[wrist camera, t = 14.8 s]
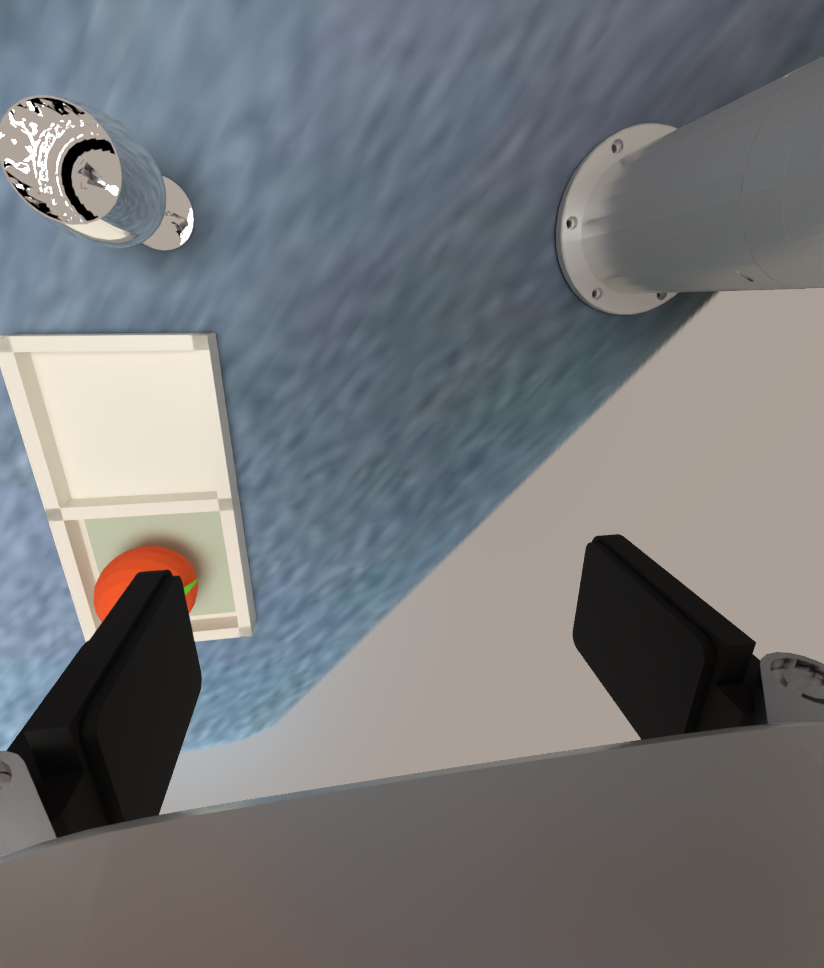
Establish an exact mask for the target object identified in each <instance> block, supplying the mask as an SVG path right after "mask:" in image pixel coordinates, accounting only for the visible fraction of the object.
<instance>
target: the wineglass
mask: <svg viewBox="0 0 824 968" xmlns="http://www.w3.org/2000/svg"><path fill="white" fill-rule="evenodd" d="M0 162H1V165H2V168H3V170H4V173H5V175H6V177H7V179H8V181H9V182H10V184H11V185H12V187H13V189H14V190H15V191H16V192H17V193H18V195H19V196H20V197H21V198H22V199H23V200H24V201H25V202H26V203H27V204H28V205H29V206H30V207H31V208H32V209H33V210H35V211H36V212H37V213H38V214H39V215H40V216H42V217H43V218H44V219H46V220H47V221H48V222H50V223H51V224H53V225H54V226H56V227H57V228H59V229H60V230H62V231H64V232H66V233H68V234H69V235H71V236H73V237H75V238H77V239H79V240H81V241H84V242H87V243H90V244H92V245H96V246H100V247H106V248H125V247H132V246H135V245H137V244H140V243H143V244H144V245H146V246H148V247H150V248H153V249H156V250H162V251H169V250H174V249H177V248H179V247H181V246H182V245H184V244H185V243H186V242H187V241H188V240H189V238H190V237H191V235H192V232H193V229H194V222H195V220H194V211H193V208H192V205H191V202H190V200H189V198H188V196H187V195H186V193H185V192H184V191H183V190H182V188H181V187H180V186H179V185H177V184H176V183H175V182H174V181H172V180H171V179H169V178H167V177H165V176H162V174H161V172H160V169H159V167H158V165H157V163H156V162H155V160H154V158H153V156H152V155H151V153H150V152H149V150H148V149H147V148H146V146H145V145H144V144H143V143H142V142H141V140H140V139H139V138H138V137H137V136H136V135H135V134H134V133H133V132H132V131H130V130H129V129H128V128H127V127H126V126H124V125H123V124H122V123H120V122H119V121H117V120H116V119H114V118H112V117H111V116H109V115H108V114H106V113H104V112H102V111H100V110H98V109H96V108H93V107H91V106H88V105H86V104H84V103H81V102H77V101H73V100H70V99H66V98H62V97H57V96H50V95H37V96H31V97H28V98H25V99H21V100H20V101H18V102H17V103H16V104H14V105H13V106H11V107H10V108H9V110H8V111H7V113H6V114H5V115H4V117H3V118H2V121H1V124H0Z"/></svg>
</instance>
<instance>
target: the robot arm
mask: <svg viewBox="0 0 824 968" xmlns="http://www.w3.org/2000/svg"><path fill="white" fill-rule="evenodd" d="M612 148H613V151H612ZM567 221H568V222H569V227H567V225H566V222H567ZM556 249H557V254H558V260H559V264H560V267H561V270H562V272H563V275H564V277H565V279H566V281H567V283H568V284H569V286H570V287H571V289H572V291H573V292H574V293H575V294H576V295H577V296H578V297H579V298H580V299H581V300H582V301H583V302H585V303H586V304H588V305H589V306H591V307H592V308H594V309H597V310H599V311H602V312H605V313H610V314H619V315H629V314H637V313H642V312H647V311H649V310H651V309H654V308H656V307H658V306H661V305H662V304H664V303H665V302H667V301H668V300H670V299H671V298H673V297H674V296H675V295H676V294H677V293H678V292H707V291H739V290H774V289H804V288H824V56H822V57H820V58H818V59H816V60H814V61H812V62H810V63H808V64H806V65H804V66H802V67H800V68H798V69H796V70H794V71H792V72H790V73H788V74H786V75H784V76H782V77H780V78H778V79H776V80H774V81H772V82H770V83H768V84H766V85H764V86H762V87H761V88H759V89H757V90H755V91H753V92H751V93H749V94H747V95H745V96H743V97H741V98H739V99H737V100H735V101H733V102H731V103H729V104H727V105H725V106H723V107H721V108H719V109H717V110H715V111H713V112H711V113H709V114H707V115H705V116H703V117H701V118H699V119H697V120H695V121H693V122H691V123H689V124H687V125H685V126H683V127H681V128H679V129H677V128H675V127H673V126H671V125H666V124H661V123H643V124H638V125H635V126H631V127H628V128H625V129H623V130H621V131H619V132H617V133H615V134H614V135H612V136H610V137H609V138H607V139H606V140H604V141H603V142H601V143H600V144H599V145H597V146H596V147H595V148H594V149H593V150H592V151H591V152H590V153H589V154H588V155H587V156H586V157H585V158H584V159H583V160H582V162H581V163H580V165H579V166H578V167H577V169H576V170H575V172H574V173H573V175H572V177H571V179H570V181H569V183H568V185H567V187H566V189H565V191H564V194H563V197H562V200H561V203H560V207H559V210H558V217H557V224H556ZM592 292H594V295H593V297H592ZM573 640H574V643H575V646H576V648H577V649H578V651H579V652H580V653H581V655H582V656H583V658H584V659H585V661H586V662H587V663H588V665H589V666H590V668H591V669H592V671H593V672H594V673H595V675H596V676H597V677H598V679H599V680H600V682H601V683H602V685H603V686H604V687H605V689H606V690H607V692H608V693H609V694H610V696H611V697H612V698H613V700H614V701H615V703H616V704H617V706H618V707H619V708H620V710H621V711H622V713H623V714H624V715H625V717H626V718H627V720H628V721H629V723H630V724H631V725H632V727H633V728H634V730H635V731H636V732H637V734H638V735H639V736H640V738H641V739H642V740H637V741H631V742H624V743H616V744H610V745H602V746H596V747H589V748H582V749H575V750H568V751H561V752H554V753H547V754H541V755H535V756H528V757H521V758H515V759H508V760H501V761H494V762H488V763H481V764H474V765H468V766H461V767H455V768H448V769H442V770H435V771H429V772H422V773H415V774H409V775H402V776H396V777H390V778H383V779H377V780H370V781H364V782H357V783H351V784H345V785H339V786H332V787H326V788H320V789H313V790H307V791H301V792H295V793H288V794H281V795H275V796H269V797H262V798H256V799H250V800H244V801H238V802H232V803H226V804H221V805H215V806H208V807H203V808H197V809H192V810H185V811H179V812H174V813H169V814H163V815H159V812H160V809H161V806H162V803H163V801H164V797H165V794H166V791H167V789H168V786H169V783H170V780H171V777H172V774H173V771H174V768H175V765H176V762H177V759H178V756H179V753H180V750H181V747H182V744H183V741H184V738H185V735H186V732H187V729H188V726H189V723H190V720H191V717H192V714H193V711H194V708H195V705H196V702H197V699H198V696H199V693H200V690H201V682H202V676H201V670H200V665H199V660H198V655H197V650H196V646H195V641H194V636H193V631H192V626H191V621H190V616H189V612H188V607H187V602H186V597H185V592H184V587H183V583H182V579H181V577H180V576H179V575H178V576H173V575H172V573H171V571H170V570H155V571H143V572H138V573H137V574H136V576H135V577H134V578H133V580H132V581H131V583H130V584H129V585H128V587H127V588H126V590H125V591H124V592H123V594H122V595H121V597H120V598H119V599H118V601H117V602H116V604H115V605H114V606H113V608H112V609H111V610H110V612H109V613H108V615H107V616H106V617H105V619H104V620H103V622H102V623H101V624H100V626H99V627H98V629H97V630H96V631H95V633H94V634H93V636H92V637H91V638H90V640H89V641H87V642H86V643H85V644H84V645H83V646H82V647H81V649H80V650H79V651H78V653H77V654H76V656H75V657H74V658H73V660H72V661H71V662H70V664H69V665H68V667H67V668H66V669H65V671H64V672H63V674H62V675H61V676H60V678H59V679H58V680H57V682H56V683H55V685H54V686H53V687H52V689H51V690H50V691H49V693H48V694H47V696H46V697H45V698H44V700H43V701H42V703H41V704H40V705H39V707H38V708H37V709H36V711H35V712H34V714H33V715H32V716H31V718H30V719H29V720H28V722H27V723H26V725H25V726H24V727H23V729H22V730H21V732H20V733H19V734H18V736H17V737H16V738H15V740H14V741H13V743H12V744H11V745H10V747H9V748H8V749H7V751H0V968H824V664H822V663H820V662H818V661H816V660H813V659H810V658H807V657H804V656H801V655H796V654H792V653H782V652H780V653H779V652H776V653H770V654H767V655H766V656H764V657H763V658H762V659H761V661H760V660H759V659H757V657H755V656H754V655H753V654H752V653H753V650H754V647H755V644H756V642H755V641H754V640H752V639H751V638H750V637H748V636H747V635H746V634H745V633H744V632H742V631H741V630H740V629H739V628H737V627H736V626H735V625H733V624H732V623H731V622H730V621H729V620H727V619H726V618H725V617H724V616H722V615H721V614H720V613H719V612H717V611H716V610H715V609H714V608H712V607H711V606H710V605H708V604H707V603H706V602H705V601H703V600H702V599H701V598H700V597H699V596H697V595H696V594H695V593H694V592H692V591H691V590H690V589H688V588H687V587H686V586H685V585H683V584H682V583H681V582H680V581H679V580H677V579H676V578H675V577H673V576H672V575H671V574H670V573H669V572H667V571H666V570H665V569H664V568H662V567H661V566H660V565H658V564H657V563H656V562H655V561H653V560H652V559H651V558H650V557H648V556H647V555H646V554H645V553H643V552H642V551H641V550H640V549H638V548H637V547H636V546H635V545H633V544H632V543H631V542H630V541H628V540H627V539H626V538H625V537H623V536H622V535H619V534H616V535H604V536H596V537H594V539H593V540H592V542H590V543H588V544H587V546H586V551H585V557H584V563H583V570H582V577H581V582H580V589H579V596H578V602H577V609H576V614H575V621H574V627H573Z"/></svg>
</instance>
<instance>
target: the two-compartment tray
mask: <svg viewBox="0 0 824 968" xmlns="http://www.w3.org/2000/svg"><path fill="white" fill-rule="evenodd" d="M0 367H1V371H2V374H3V377H4V380H5V383H6V387H7V390H8V393H9V396H10V399H11V403H12V406H13V409H14V412H15V416H16V419H17V422H18V425H19V428H20V432H21V435H22V438H23V441H24V444H25V448H26V451H27V454H28V457H29V461H30V464H31V467H32V470H33V473H34V477H35V480H36V483H37V486H38V489H39V493H40V496H41V499H42V502H43V506H44V509H45V512H46V515H47V518H48V522H49V525H50V528H51V531H52V535H53V538H54V541H55V544H56V547H57V551H58V554H59V557H60V560H61V563H62V567H63V570H64V573H65V576H66V580H67V583H68V586H69V589H70V592H71V596H72V599H73V602H74V605H75V608H76V612H77V615H78V618H79V621H80V625H81V628H82V631H83V634H84V637H85V641H86V642H87V641H89V640H90V638H91V637H92V636H93V634H94V633H95V631H96V630H97V629H98V627H99V626H100V624H101V623H102V622H101V620H100V619H99V617H98V615H97V614H96V611H95V607H94V587H95V584H96V582H97V580H98V578H99V576H100V574H101V572H102V571H103V569H104V568H105V567H106V566H107V565H108V564H109V563H110V562H111V561H112V560H113V559H115V558H116V557H117V556H119V555H121V554H122V553H124V552H126V551H128V550H132V549H135V548H139V547H143V546H160V547H166V548H169V549H171V550H174V551H176V552H178V553H179V554H181V555H182V556H183V557H185V558H186V559H187V560H188V562H189V563H190V564H191V565H192V567H193V569H194V571H195V574H196V576H197V578H199V577H200V576H201V577H200V578H199V579H198V581H197V582H198V592H197V597H196V602H195V605H194V607H193V608H192V610H191V612H190V613H189V616H190V621H191V626H192V631H193V636H194V641H195V642H196V641H205V640H215V639H225V638H235V637H245V636H252V634H253V630H254V626H255V622H256V612H255V605H254V598H253V591H252V584H251V577H250V570H249V563H248V556H247V549H246V542H245V535H244V528H243V521H242V514H241V507H240V500H239V493H238V486H237V479H236V472H235V465H234V458H233V451H232V444H231V437H230V430H229V423H228V416H227V410H226V403H225V396H224V389H223V382H222V375H221V368H220V361H219V354H218V347H217V340H216V333H60V334H8V335H0Z"/></svg>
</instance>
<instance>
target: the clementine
mask: <svg viewBox="0 0 824 968" xmlns="http://www.w3.org/2000/svg"><path fill="white" fill-rule="evenodd" d="M155 570H170V571H171V573H172V575H173V576H178V575H179V576H180V577H181V579H182V583H183V587H184V592H185V597H186V602H187V607H188V612H189V613H190V612H191V610H192V608H193V607H194V605H195V602H196V597H197V592H198V582H197V581H198V579H199V578H200V577H201V576H200V577H199V578H197V576H196V574H195V571H194V569H193V567H192V565H191V564H190V563H189V562H188V560H187V559H186V558H185V557H183V556H182V555H181V554H179V553H178V552H176V551H174V550H171V549H169V548H166V547H160V546H143V547H139V548H135V549H132V550H128V551H126V552H124V553H122V554H121V555H119V556H117V557H116V558H115V559H113V560H112V561H111V562H110V563H109V564H108V565H107V566H106V567H105V568H104V569H103V571H102V572H101V574H100V576H99V578H98V580H97V582H96V584H95V587H94V607H95V611H96V614H97V615H98V617H99V619H100V620H101V622H103V620H104V619H105V617H106V616H107V615H108V613H109V612H110V610H111V609H112V608H113V606H114V605H115V604H116V602H117V601H118V599H119V598H120V597H121V595H122V594H123V592H124V591H125V590H126V588H127V587H128V585H129V584H130V583H131V581H132V580H133V578H134V577H135V576H136V574H137V573H138V572H143V571H155Z"/></svg>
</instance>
